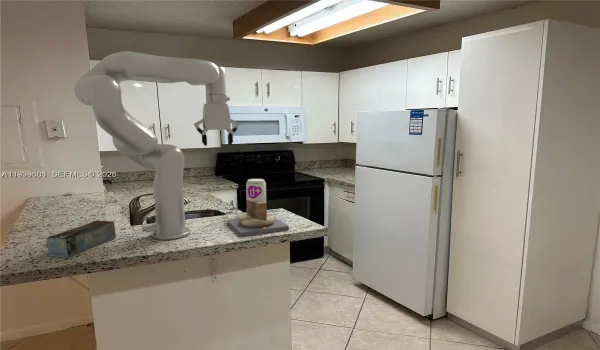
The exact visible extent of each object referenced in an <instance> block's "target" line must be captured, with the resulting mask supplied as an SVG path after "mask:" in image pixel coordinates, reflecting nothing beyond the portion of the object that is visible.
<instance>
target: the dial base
mask: <svg viewBox="0 0 600 350" xmlns="http://www.w3.org/2000/svg"><path fill="white" fill-rule="evenodd" d="M226 224H227V226H229V227H230V228H231V229H232V230H233V231H234V232H235V233H236V234H238V236H240V237H241V238H243V237H249V236H255V235H262V234H269V233H276V232H282V231H289V230H290V226H289V224H287V223H285V222H283V221H282V220H280V219H278V218H277V217H275V216H274V223H273V224H271V225H268V226H263V227H247V226H242V225H240V223H239V218H235V219H233V218H232V219H227V220H226Z"/></svg>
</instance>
